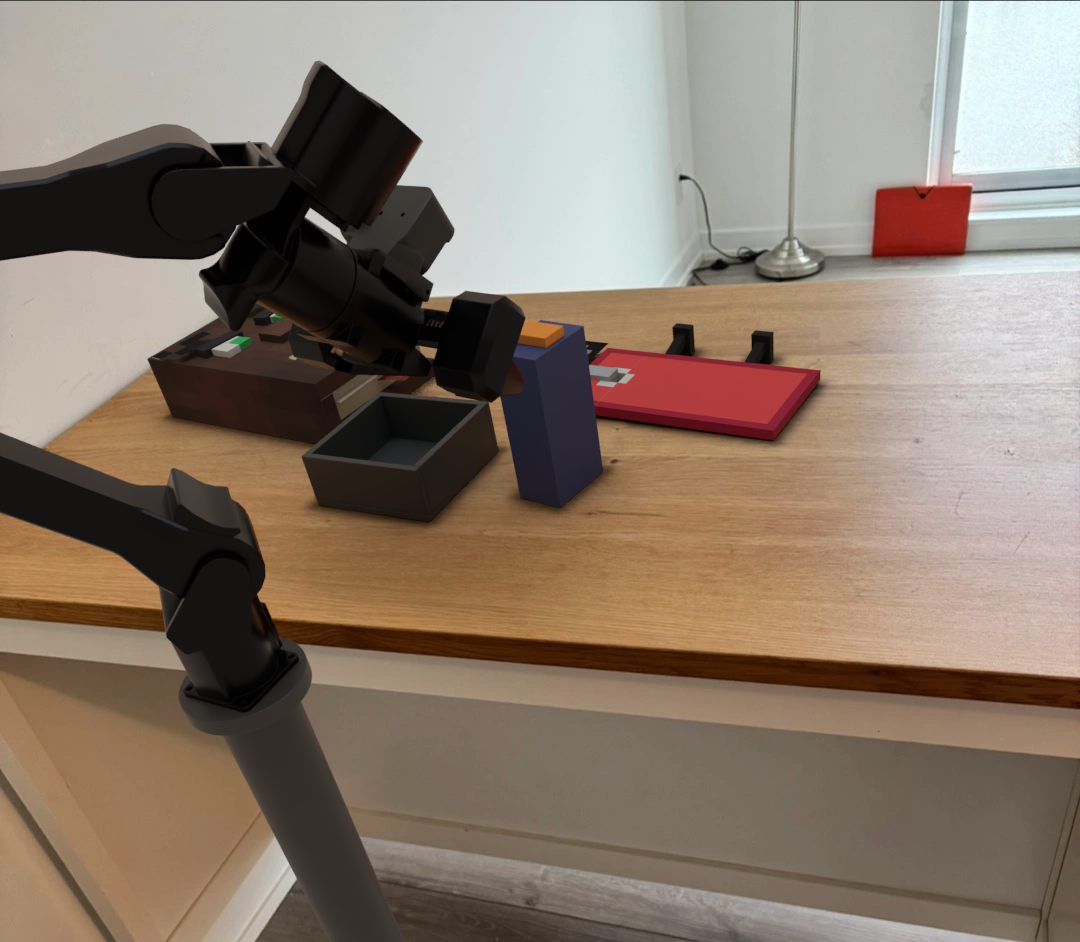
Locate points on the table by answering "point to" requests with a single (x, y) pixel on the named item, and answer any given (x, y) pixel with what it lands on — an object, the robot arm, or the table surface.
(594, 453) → the block
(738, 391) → the red board with handle
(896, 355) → the table surface
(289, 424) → the decorative book
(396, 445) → the bin
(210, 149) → the robot arm
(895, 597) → the table surface
